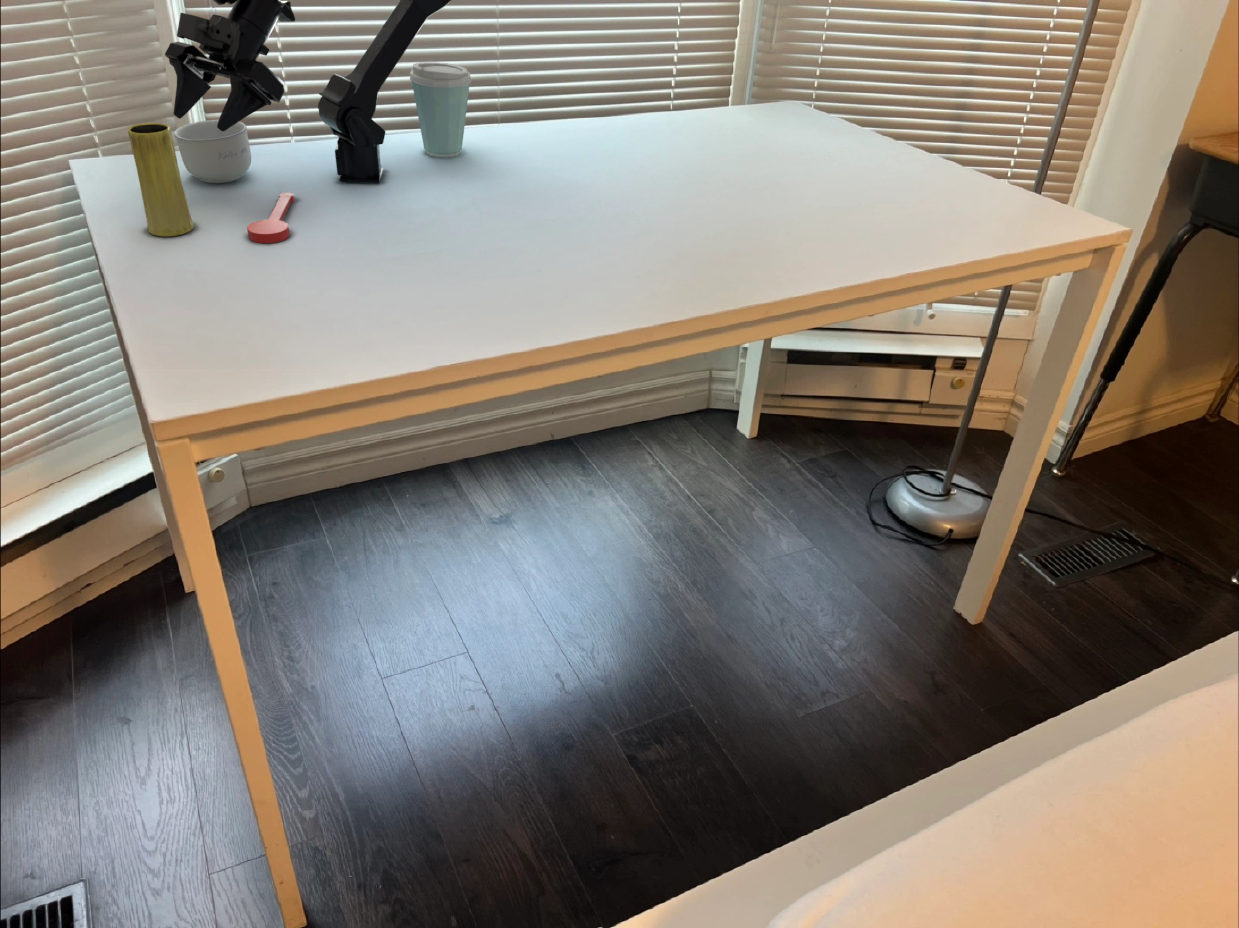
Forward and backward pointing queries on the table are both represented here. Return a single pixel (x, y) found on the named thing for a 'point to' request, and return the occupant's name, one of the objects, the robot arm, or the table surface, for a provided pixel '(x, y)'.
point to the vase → (160, 180)
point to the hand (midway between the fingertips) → (198, 123)
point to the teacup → (214, 151)
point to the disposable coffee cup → (441, 105)
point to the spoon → (272, 223)
